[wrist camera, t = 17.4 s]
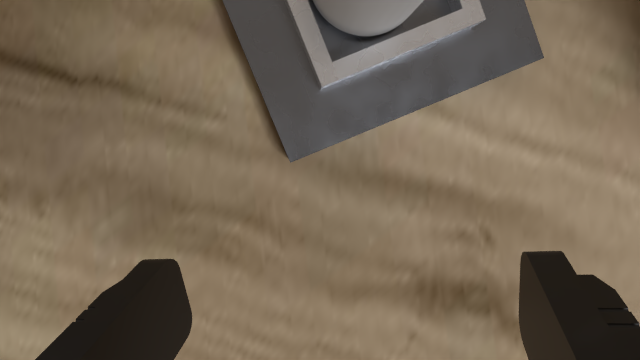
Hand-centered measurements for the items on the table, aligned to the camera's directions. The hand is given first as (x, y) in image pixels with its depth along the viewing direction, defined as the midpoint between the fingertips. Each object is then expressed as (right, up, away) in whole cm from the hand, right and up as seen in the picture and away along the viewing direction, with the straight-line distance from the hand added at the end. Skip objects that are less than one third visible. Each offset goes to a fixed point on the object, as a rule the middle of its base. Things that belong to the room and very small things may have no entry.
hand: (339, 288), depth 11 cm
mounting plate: (+2, +14, +17) cm, 22 cm away
